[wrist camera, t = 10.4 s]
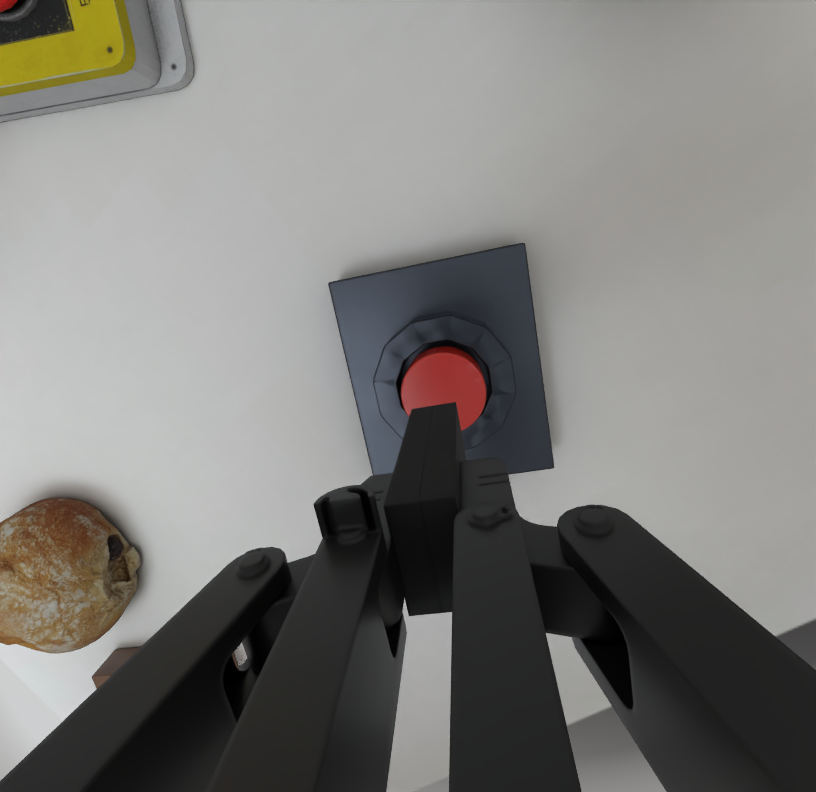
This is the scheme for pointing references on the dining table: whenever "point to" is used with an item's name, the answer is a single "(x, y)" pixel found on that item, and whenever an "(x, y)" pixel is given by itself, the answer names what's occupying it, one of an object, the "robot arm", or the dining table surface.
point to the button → (445, 383)
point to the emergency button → (88, 53)
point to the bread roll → (62, 576)
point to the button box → (455, 327)
